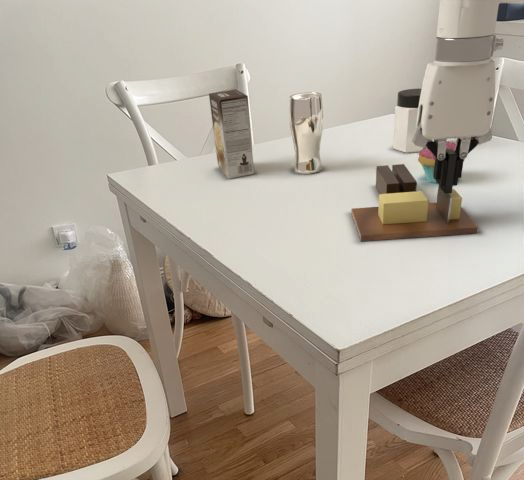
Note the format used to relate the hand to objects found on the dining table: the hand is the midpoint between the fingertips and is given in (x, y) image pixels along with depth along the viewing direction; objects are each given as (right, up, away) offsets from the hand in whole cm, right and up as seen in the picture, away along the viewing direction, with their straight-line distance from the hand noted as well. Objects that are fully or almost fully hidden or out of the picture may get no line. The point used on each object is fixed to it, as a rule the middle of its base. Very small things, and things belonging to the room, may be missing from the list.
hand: (446, 182), depth 85 cm
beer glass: (-19, +13, +33) cm, 40 cm away
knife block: (-4, +2, +16) cm, 16 cm away
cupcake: (+6, +7, +21) cm, 23 cm away
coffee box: (-35, +14, +36) cm, 52 cm away
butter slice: (+2, -4, +3) cm, 5 cm away
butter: (-6, -5, +4) cm, 8 cm away
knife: (0, -4, +3) cm, 5 cm away
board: (-5, -5, +4) cm, 8 cm away
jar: (+6, +21, +41) cm, 46 cm away
